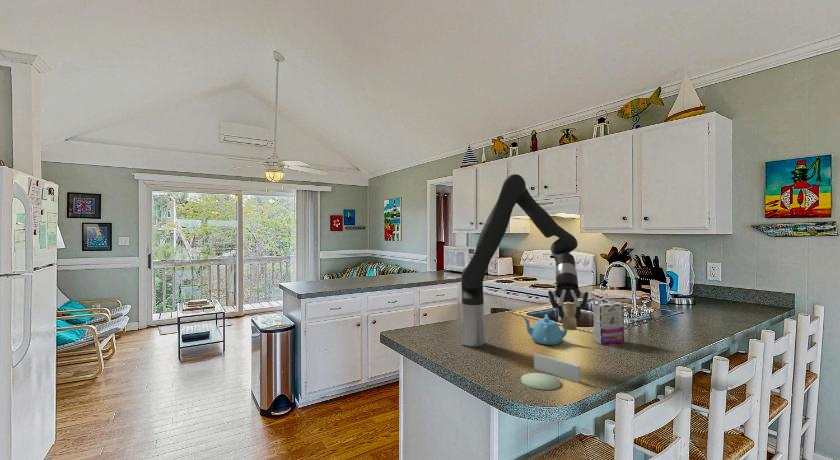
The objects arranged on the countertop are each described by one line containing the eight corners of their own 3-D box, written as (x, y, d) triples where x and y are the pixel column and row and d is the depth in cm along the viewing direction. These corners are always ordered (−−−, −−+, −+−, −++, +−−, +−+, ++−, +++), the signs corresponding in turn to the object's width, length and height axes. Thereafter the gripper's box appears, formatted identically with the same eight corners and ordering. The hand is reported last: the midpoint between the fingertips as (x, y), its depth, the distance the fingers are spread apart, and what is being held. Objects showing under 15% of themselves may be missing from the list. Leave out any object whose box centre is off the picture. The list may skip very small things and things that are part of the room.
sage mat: (520, 387, 114) (520, 385, 114) (521, 373, 125) (521, 371, 125) (562, 392, 110) (562, 389, 110) (559, 376, 122) (559, 375, 122)
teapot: (545, 348, 151) (544, 323, 151) (520, 339, 165) (520, 316, 165) (572, 344, 157) (571, 319, 157) (546, 335, 171) (546, 312, 171)
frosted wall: (534, 368, 129) (533, 354, 129) (536, 367, 130) (536, 353, 130) (578, 382, 117) (578, 366, 117) (580, 381, 118) (580, 365, 118)
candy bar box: (616, 339, 162) (615, 302, 162) (624, 343, 157) (623, 304, 157) (593, 341, 159) (592, 303, 159) (601, 345, 154) (600, 305, 154)
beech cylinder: (563, 329, 128) (562, 306, 128) (562, 326, 132) (561, 303, 132) (577, 330, 126) (576, 306, 126) (575, 327, 131) (575, 304, 131)
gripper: (546, 271, 139) (547, 310, 127) (588, 272, 134) (593, 312, 123) (546, 283, 144) (547, 322, 132) (586, 284, 140) (591, 324, 128)
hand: (569, 317), depth 128 cm, fingers closed on beech cylinder, 4 cm apart
